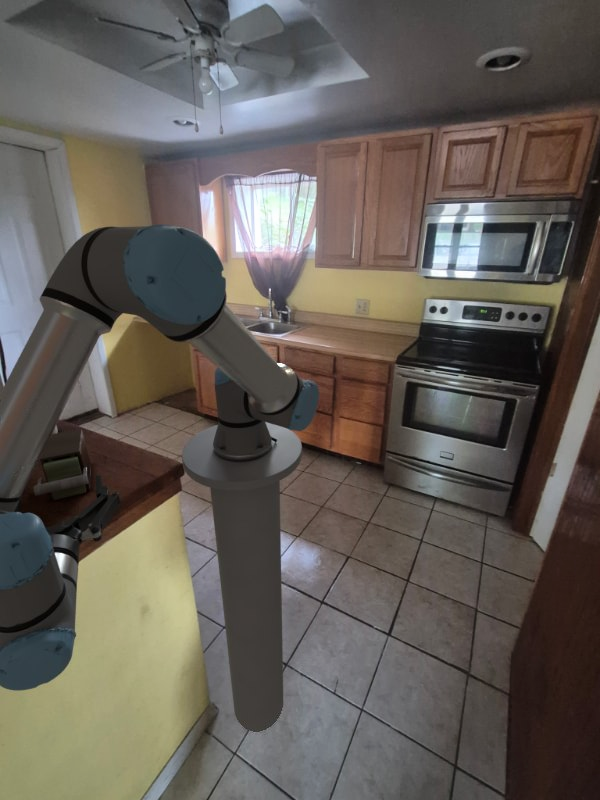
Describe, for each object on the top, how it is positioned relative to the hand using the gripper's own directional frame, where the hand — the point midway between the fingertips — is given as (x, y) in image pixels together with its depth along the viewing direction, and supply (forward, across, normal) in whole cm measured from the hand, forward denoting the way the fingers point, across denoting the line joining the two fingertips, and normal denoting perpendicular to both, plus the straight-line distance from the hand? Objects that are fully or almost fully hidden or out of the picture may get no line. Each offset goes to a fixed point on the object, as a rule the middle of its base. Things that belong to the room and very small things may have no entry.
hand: (60, 490), depth 72 cm
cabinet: (+14, 0, -7) cm, 16 cm away
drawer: (+9, 0, -6) cm, 11 cm away
